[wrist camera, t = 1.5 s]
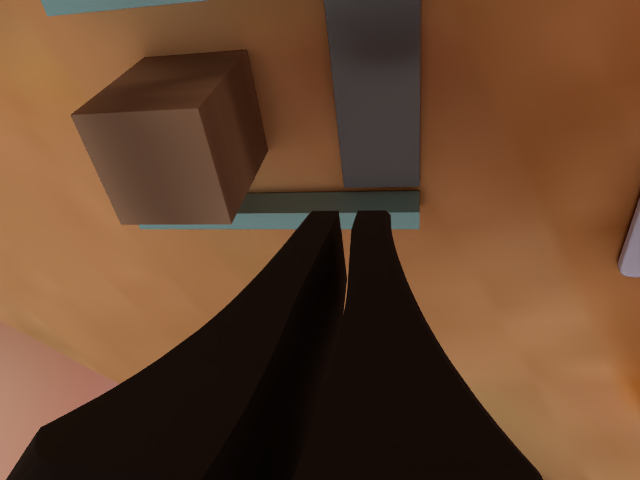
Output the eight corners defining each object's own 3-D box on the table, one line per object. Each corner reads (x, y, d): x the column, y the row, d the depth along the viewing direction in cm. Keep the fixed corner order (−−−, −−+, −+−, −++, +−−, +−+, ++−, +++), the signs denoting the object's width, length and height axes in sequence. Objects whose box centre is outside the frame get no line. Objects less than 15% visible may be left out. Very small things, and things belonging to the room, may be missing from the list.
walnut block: (247, 49, 17) (197, 108, 13) (268, 150, 20) (231, 224, 16) (144, 57, 18) (70, 114, 14) (177, 153, 21) (121, 224, 17)
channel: (420, -63, 14) (420, -54, 13) (419, 207, 20) (419, 229, 19) (62, -21, 17) (36, -11, 16) (154, 209, 23) (140, 229, 21)
